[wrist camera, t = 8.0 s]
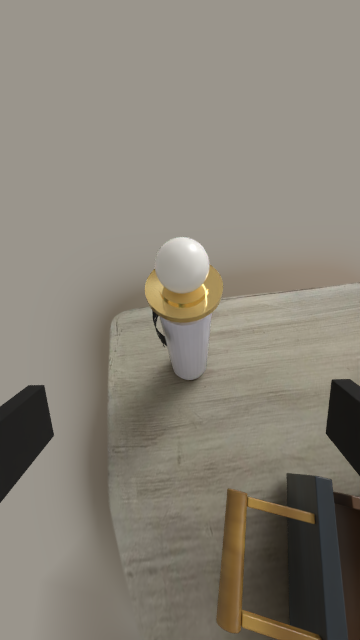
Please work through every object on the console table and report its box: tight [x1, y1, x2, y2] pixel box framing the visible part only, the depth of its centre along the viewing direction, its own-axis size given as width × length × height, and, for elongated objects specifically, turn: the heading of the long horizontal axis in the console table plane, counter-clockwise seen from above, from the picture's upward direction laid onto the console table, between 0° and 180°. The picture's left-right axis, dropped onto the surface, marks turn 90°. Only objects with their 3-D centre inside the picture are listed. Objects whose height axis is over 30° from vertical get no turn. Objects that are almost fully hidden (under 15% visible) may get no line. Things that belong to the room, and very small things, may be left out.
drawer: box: [216, 473, 360, 640], centre depth 17 cm, size 20×11×7 cm, turn 78°
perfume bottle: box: [145, 237, 223, 380], centre depth 23 cm, size 6×6×20 cm
